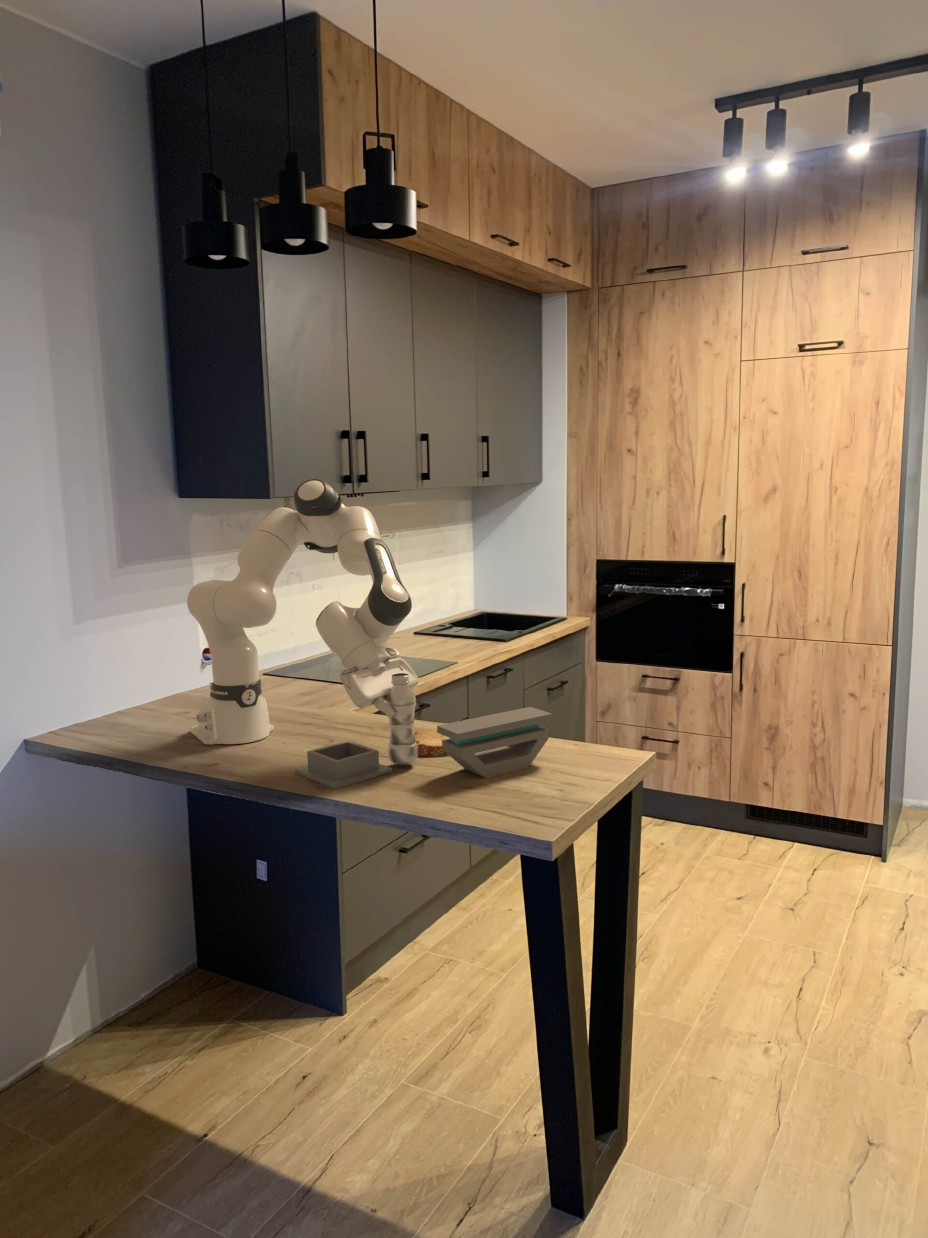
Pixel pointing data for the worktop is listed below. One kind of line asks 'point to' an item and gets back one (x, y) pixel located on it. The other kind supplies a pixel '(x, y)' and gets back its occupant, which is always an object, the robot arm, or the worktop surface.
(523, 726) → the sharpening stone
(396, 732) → the plastic bottle
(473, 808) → the worktop surface
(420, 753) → the slice of bread
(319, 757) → the holder
